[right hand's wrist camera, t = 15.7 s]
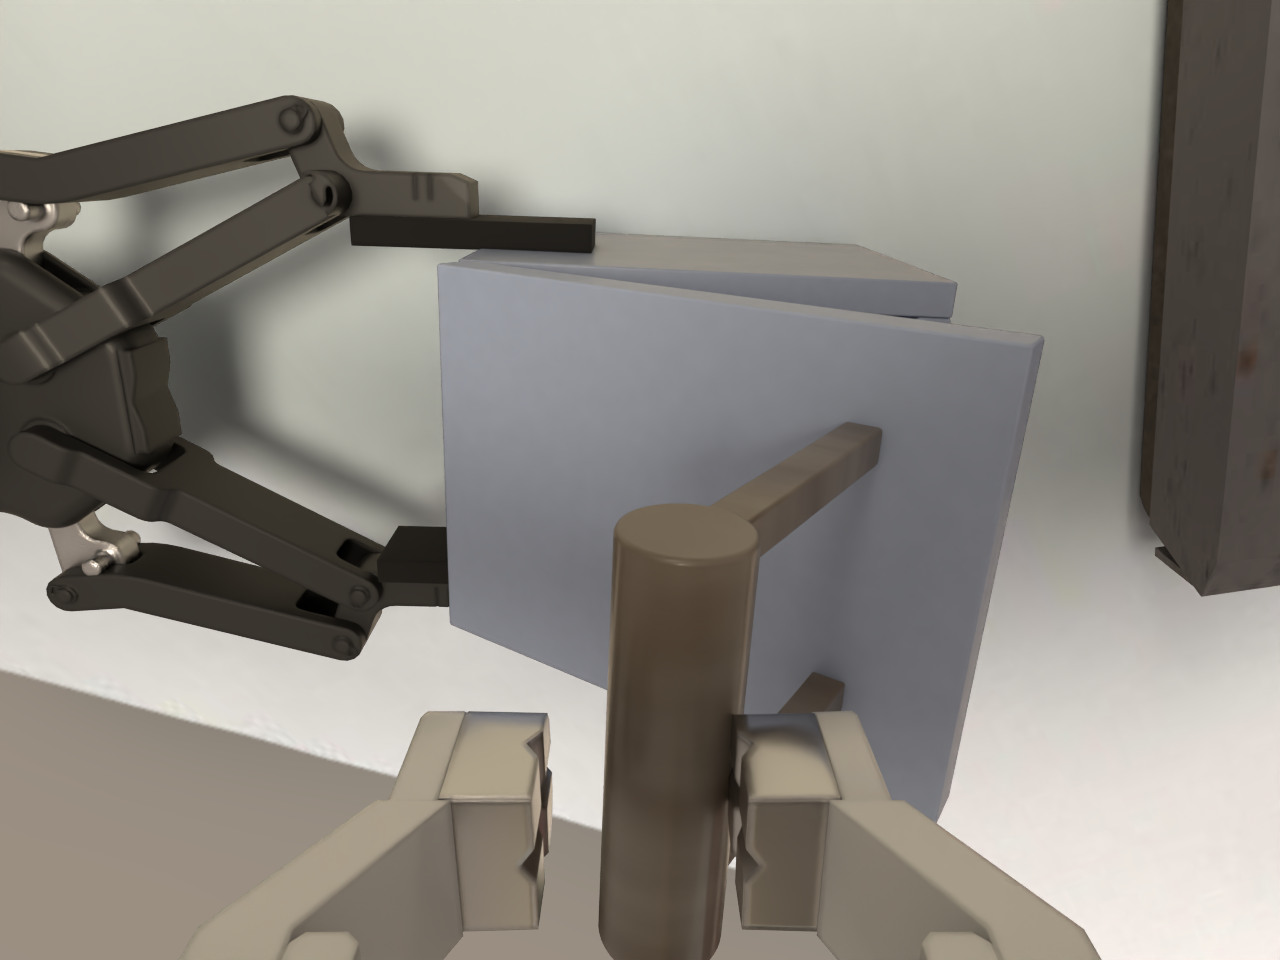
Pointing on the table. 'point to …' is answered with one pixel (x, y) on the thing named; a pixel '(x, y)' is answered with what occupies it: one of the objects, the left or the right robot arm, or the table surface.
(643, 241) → the chest
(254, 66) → the table surface
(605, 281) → the lid
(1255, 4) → the toy
